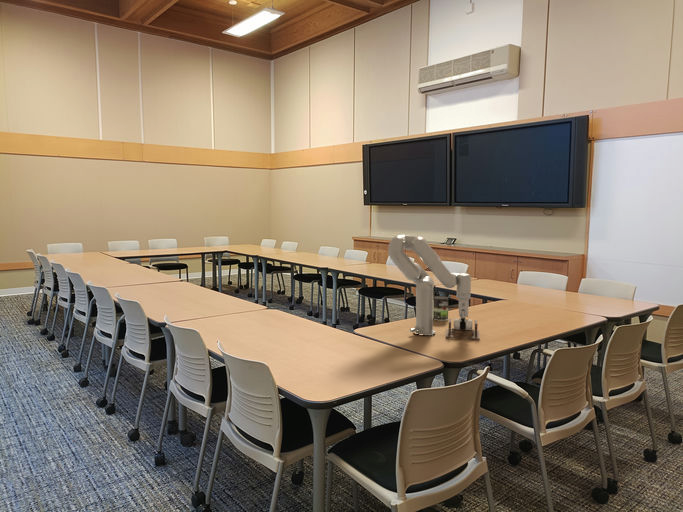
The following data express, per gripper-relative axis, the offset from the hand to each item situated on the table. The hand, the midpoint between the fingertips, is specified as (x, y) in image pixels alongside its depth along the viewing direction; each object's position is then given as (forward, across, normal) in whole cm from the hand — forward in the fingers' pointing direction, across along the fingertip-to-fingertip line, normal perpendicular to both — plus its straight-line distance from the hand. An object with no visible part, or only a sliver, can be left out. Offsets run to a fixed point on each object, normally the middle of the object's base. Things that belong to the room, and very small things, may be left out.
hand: (462, 327), depth 267 cm
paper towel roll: (-2, 0, 0) cm, 2 cm away
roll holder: (+5, 0, 0) cm, 5 cm away
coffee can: (+5, +36, +14) cm, 39 cm away
